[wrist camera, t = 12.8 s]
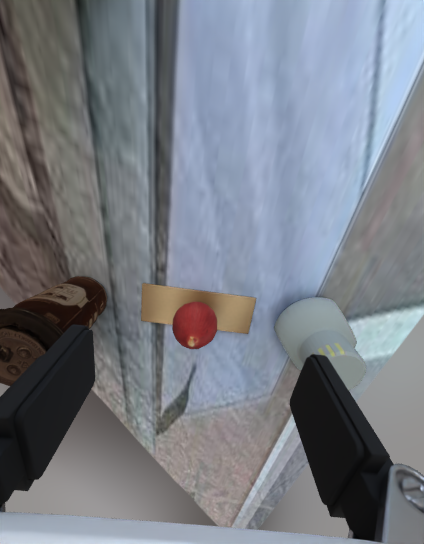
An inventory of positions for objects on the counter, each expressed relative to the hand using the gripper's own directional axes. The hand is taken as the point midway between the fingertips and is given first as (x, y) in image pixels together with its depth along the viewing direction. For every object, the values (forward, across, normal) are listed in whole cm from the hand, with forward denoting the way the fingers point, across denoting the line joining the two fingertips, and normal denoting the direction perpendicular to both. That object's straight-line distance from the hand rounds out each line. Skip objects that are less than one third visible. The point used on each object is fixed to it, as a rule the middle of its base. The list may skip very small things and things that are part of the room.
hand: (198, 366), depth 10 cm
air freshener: (+21, -16, +10) cm, 29 cm away
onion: (+21, 0, +10) cm, 24 cm away
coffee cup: (+22, +16, +11) cm, 29 cm away
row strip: (+21, 0, +10) cm, 24 cm away
